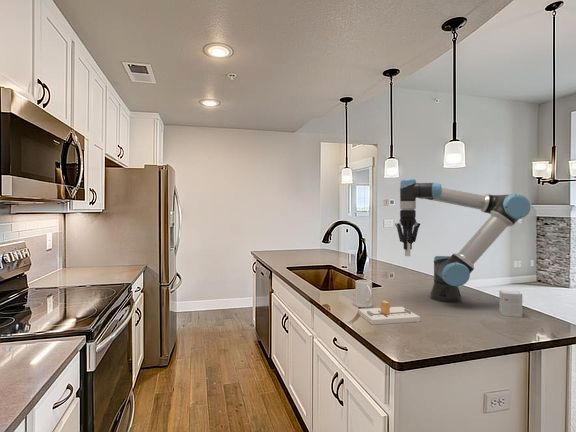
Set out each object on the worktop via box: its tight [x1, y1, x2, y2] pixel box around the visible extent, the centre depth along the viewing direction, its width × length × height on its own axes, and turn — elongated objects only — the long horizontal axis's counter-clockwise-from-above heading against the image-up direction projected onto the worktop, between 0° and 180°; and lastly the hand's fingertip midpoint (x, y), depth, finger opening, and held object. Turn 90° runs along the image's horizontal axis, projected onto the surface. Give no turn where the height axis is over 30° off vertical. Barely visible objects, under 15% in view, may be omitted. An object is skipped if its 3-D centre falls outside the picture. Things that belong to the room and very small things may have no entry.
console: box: [357, 306, 421, 325], centre depth 157 cm, size 22×16×3 cm
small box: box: [498, 289, 523, 318], centre depth 160 cm, size 8×6×10 cm
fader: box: [380, 300, 391, 315], centre depth 156 cm, size 2×4×5 cm, turn 10°
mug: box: [354, 279, 373, 308], centre depth 176 cm, size 12×8×12 cm
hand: (407, 255), depth 179 cm, fingers closed
